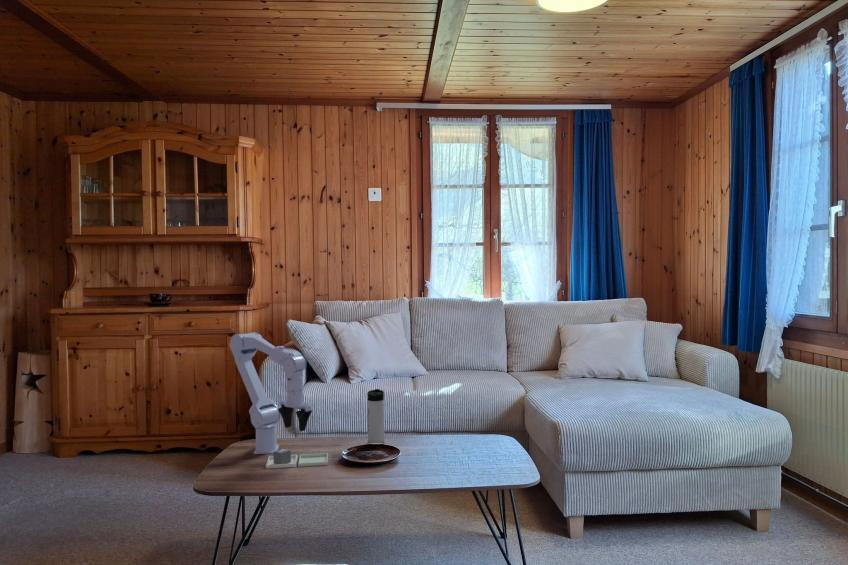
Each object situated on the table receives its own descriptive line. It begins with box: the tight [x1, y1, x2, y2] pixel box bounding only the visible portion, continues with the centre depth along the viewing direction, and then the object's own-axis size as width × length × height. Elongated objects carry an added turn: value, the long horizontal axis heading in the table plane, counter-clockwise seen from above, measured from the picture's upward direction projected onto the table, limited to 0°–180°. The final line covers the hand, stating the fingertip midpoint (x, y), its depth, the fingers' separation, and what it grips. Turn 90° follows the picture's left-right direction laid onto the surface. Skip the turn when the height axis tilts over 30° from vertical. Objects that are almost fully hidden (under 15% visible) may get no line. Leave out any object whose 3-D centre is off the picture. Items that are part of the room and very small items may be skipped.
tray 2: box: [297, 452, 329, 468], centre depth 191 cm, size 10×10×1 cm
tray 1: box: [265, 454, 299, 470], centre depth 189 cm, size 10×10×1 cm
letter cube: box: [272, 448, 292, 464], centre depth 189 cm, size 4×4×4 cm
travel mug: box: [366, 388, 385, 444], centre depth 211 cm, size 6×7×20 cm
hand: (295, 428), depth 196 cm, fingers open, 7 cm apart
